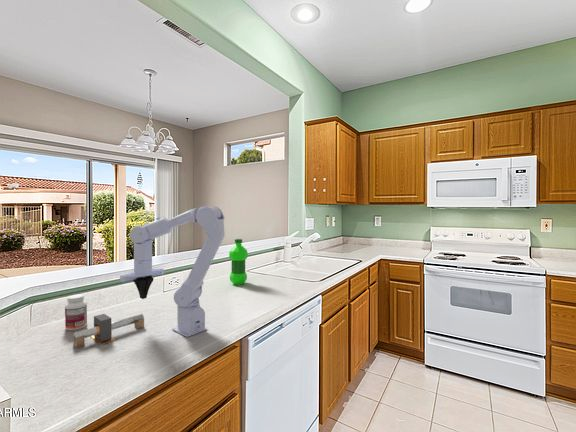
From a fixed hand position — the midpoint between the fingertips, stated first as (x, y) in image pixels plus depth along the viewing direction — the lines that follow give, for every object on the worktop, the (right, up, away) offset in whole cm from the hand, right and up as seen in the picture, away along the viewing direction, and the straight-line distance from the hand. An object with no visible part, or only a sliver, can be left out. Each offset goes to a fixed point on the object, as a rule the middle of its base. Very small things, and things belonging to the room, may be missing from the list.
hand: (143, 298), depth 102 cm
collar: (-9, -11, -9) cm, 16 cm away
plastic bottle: (+24, -9, +59) cm, 64 cm away
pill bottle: (-23, -10, 0) cm, 26 cm away
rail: (-7, -11, -7) cm, 14 cm away
